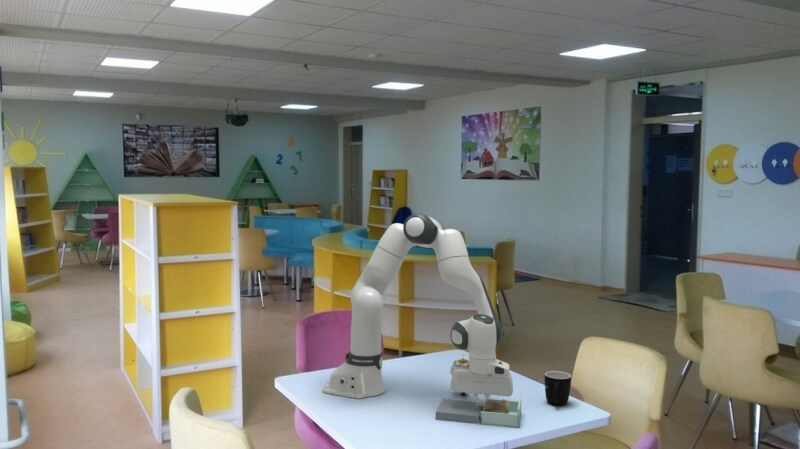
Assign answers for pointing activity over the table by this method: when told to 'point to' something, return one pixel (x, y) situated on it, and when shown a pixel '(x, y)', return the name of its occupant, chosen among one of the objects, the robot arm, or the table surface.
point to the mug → (557, 387)
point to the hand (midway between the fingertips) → (481, 406)
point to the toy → (462, 361)
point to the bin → (503, 415)
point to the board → (459, 411)
